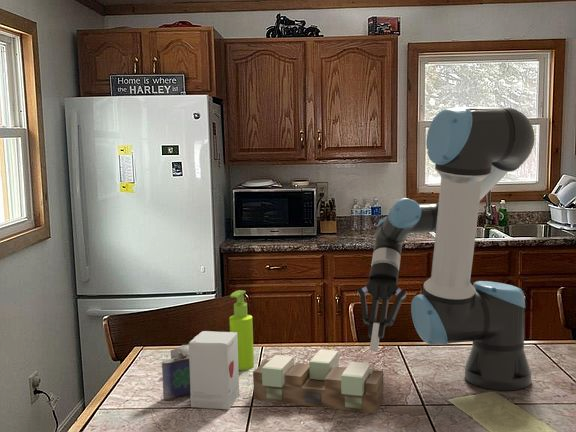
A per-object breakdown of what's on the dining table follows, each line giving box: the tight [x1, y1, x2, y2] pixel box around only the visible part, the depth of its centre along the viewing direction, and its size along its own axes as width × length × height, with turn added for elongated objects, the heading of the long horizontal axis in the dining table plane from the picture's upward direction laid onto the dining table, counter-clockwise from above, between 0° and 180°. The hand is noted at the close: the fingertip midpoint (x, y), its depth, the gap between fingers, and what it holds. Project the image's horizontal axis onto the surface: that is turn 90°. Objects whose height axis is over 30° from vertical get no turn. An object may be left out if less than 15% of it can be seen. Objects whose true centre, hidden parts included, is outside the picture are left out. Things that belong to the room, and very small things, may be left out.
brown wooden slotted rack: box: [252, 359, 384, 415], centre depth 144 cm, size 28×8×6 cm, turn 71°
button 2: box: [341, 361, 372, 396], centre depth 140 cm, size 4×9×4 cm, turn 161°
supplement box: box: [188, 330, 240, 410], centre depth 144 cm, size 9×9×15 cm
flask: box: [161, 350, 191, 402], centre depth 148 cm, size 9×3×11 cm, turn 121°
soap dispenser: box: [228, 289, 255, 371], centre depth 165 cm, size 6×7×20 cm
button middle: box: [308, 348, 340, 380], centre depth 149 cm, size 4×9×4 cm, turn 161°
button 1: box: [262, 354, 295, 387], centre depth 145 cm, size 4×9×4 cm, turn 161°
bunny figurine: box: [170, 344, 189, 359], centre depth 169 cm, size 10×5×15 cm
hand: (373, 348), depth 158 cm, fingers closed
